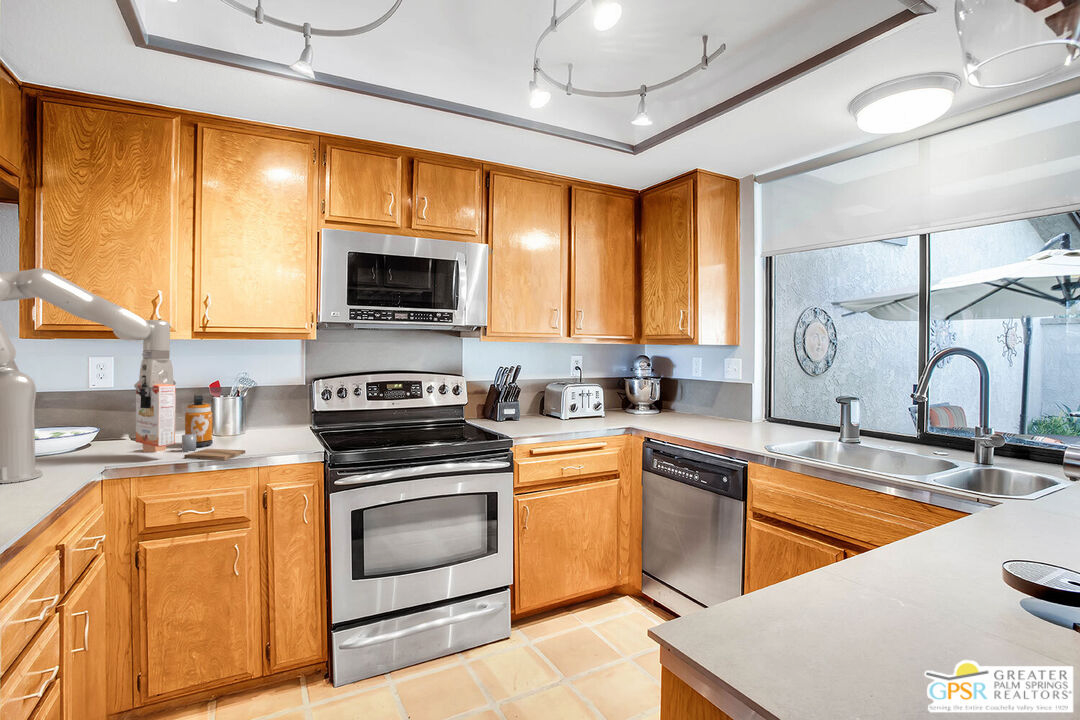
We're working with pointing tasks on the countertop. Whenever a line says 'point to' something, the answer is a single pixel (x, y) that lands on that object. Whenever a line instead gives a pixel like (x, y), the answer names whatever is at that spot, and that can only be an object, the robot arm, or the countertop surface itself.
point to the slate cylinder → (188, 442)
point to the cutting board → (215, 454)
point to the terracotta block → (152, 448)
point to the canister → (199, 421)
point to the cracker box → (157, 417)
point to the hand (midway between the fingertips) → (155, 406)
